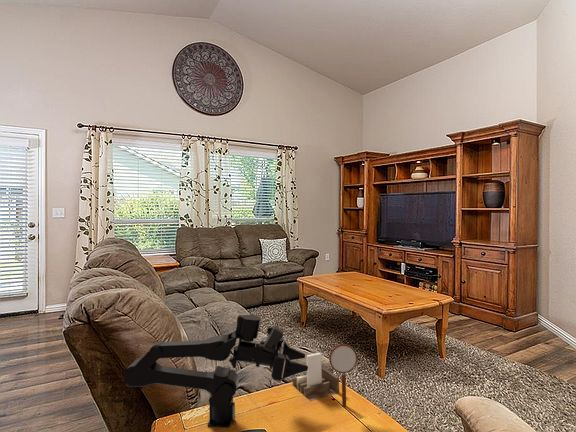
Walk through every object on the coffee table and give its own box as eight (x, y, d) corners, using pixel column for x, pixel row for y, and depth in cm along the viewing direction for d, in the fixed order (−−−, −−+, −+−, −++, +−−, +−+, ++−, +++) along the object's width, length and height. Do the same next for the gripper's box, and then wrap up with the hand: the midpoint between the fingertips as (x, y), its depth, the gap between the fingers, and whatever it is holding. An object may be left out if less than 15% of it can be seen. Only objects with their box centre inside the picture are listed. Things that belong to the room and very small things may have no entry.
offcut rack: (310, 405, 107) (309, 384, 107) (291, 388, 118) (291, 369, 119) (339, 397, 112) (338, 377, 112) (319, 382, 123) (318, 363, 123)
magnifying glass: (357, 408, 105) (356, 342, 106) (359, 411, 103) (357, 344, 104) (329, 410, 104) (328, 343, 105) (330, 413, 103) (329, 345, 103)
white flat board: (308, 393, 112) (308, 356, 112) (307, 392, 113) (306, 355, 113) (321, 390, 114) (321, 353, 114) (319, 388, 115) (319, 352, 116)
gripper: (258, 335, 92) (314, 345, 92) (260, 317, 110) (308, 325, 111) (250, 377, 91) (307, 387, 92) (254, 351, 110) (302, 360, 110)
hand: (306, 361), depth 101 cm, fingers open, 9 cm apart
